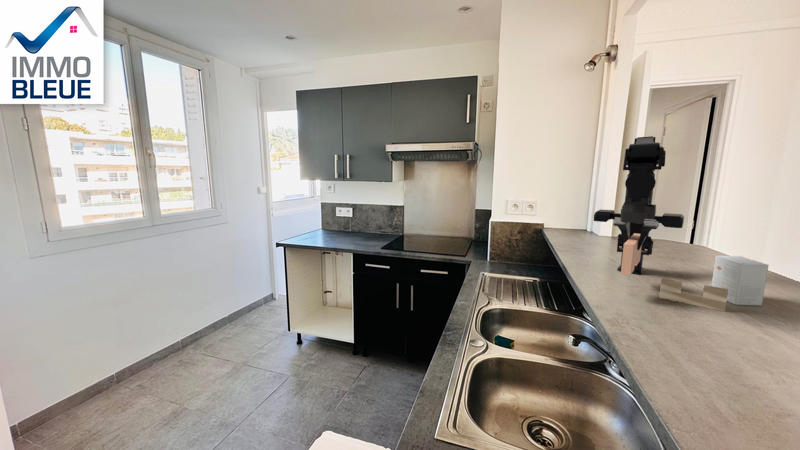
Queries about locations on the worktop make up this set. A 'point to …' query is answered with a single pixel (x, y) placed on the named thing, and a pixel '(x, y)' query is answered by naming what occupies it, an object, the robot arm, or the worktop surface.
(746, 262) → the small box
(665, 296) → the birch notched block
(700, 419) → the worktop surface
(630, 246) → the terracotta plate
